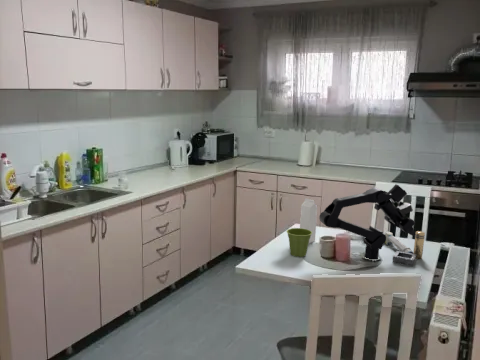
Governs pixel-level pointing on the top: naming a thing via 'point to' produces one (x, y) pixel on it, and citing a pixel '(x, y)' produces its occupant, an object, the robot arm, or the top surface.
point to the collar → (404, 258)
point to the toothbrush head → (396, 243)
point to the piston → (419, 244)
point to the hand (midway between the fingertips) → (409, 232)
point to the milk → (309, 217)
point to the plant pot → (298, 241)
